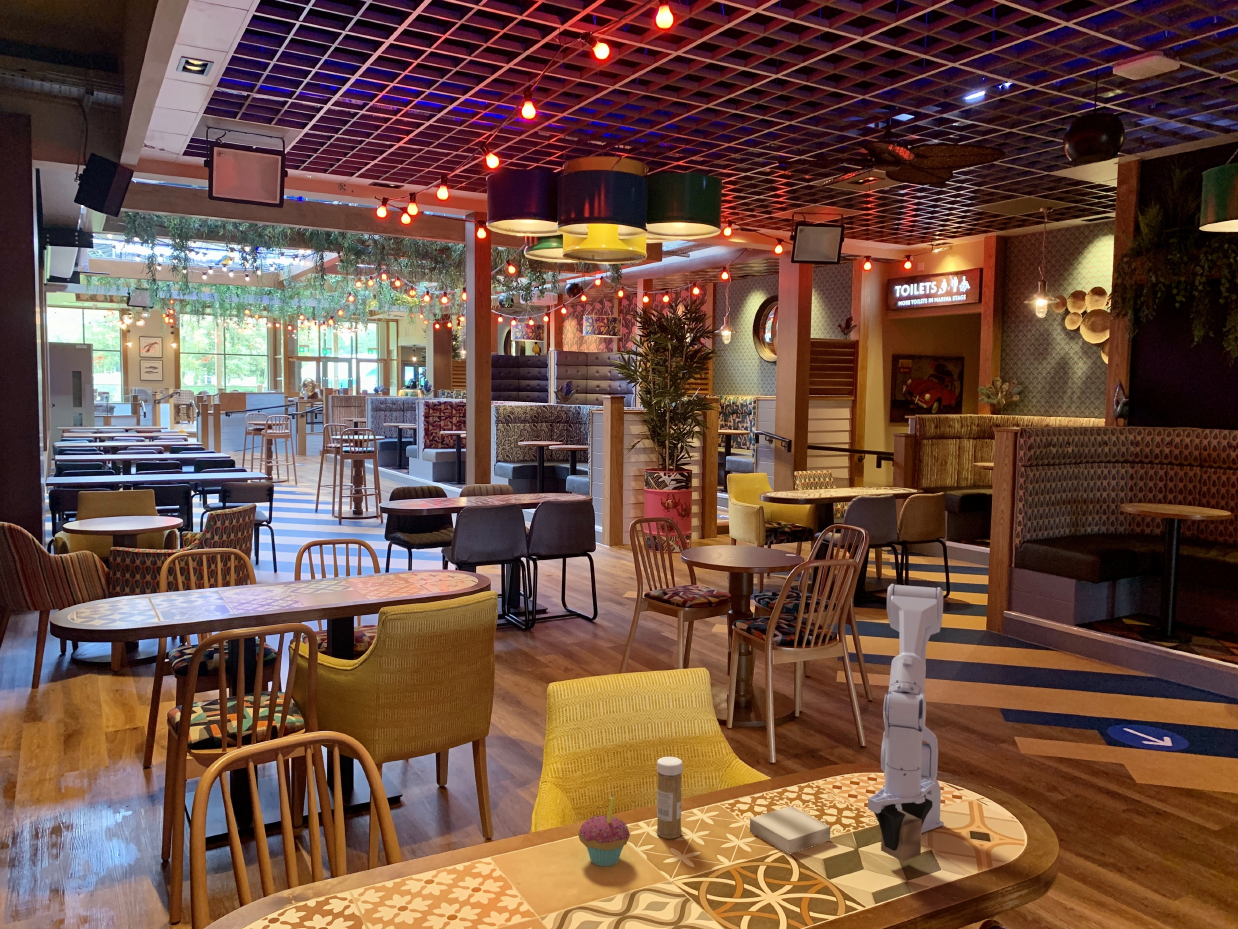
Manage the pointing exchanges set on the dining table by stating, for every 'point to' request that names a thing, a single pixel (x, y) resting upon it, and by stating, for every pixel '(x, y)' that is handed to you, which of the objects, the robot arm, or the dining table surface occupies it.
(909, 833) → the walnut block
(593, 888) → the dining table surface
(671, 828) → the sprinkles bottle
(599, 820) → the cupcake
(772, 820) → the birch block
